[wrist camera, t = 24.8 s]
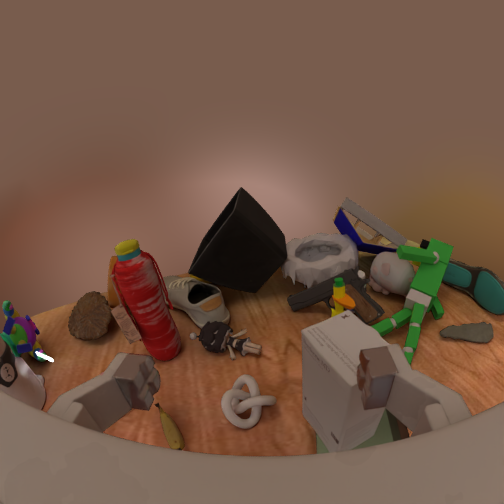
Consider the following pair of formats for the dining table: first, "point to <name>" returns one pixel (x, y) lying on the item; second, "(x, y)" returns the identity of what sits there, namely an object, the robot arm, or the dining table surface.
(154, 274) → the water bottle
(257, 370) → the dining table surface
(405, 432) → the shelf
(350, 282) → the handgun
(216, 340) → the figurine
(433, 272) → the toy
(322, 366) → the cosmetic box
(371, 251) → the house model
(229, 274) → the flower pot
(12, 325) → the figurine
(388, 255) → the toy
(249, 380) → the knot
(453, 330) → the stone
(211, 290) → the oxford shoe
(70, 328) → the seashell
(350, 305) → the toy figure
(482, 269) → the ballet flat
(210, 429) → the dining table surface
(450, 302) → the dining table surface
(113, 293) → the flower pot
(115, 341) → the dining table surface
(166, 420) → the banana
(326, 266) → the bowl
